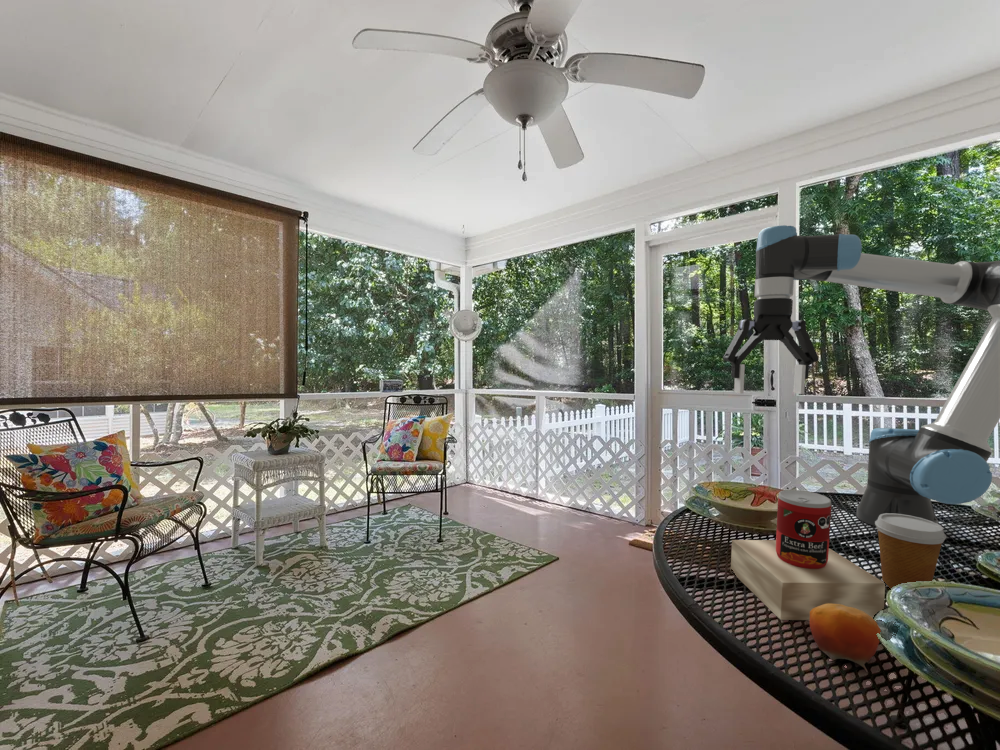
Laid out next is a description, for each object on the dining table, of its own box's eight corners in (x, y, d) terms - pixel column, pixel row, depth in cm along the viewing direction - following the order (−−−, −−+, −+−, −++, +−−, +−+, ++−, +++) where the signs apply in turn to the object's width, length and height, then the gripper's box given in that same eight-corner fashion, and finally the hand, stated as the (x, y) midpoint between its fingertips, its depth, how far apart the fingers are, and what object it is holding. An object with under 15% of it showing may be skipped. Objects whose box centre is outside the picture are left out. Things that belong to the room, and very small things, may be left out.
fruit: (820, 662, 62) (815, 596, 66) (806, 660, 69) (802, 600, 72) (896, 678, 60) (887, 608, 63) (874, 675, 66) (867, 611, 70)
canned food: (776, 563, 80) (779, 499, 80) (774, 546, 88) (777, 486, 87) (831, 574, 77) (835, 507, 76) (824, 555, 84) (828, 493, 83)
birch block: (815, 571, 91) (816, 540, 90) (882, 620, 75) (885, 583, 74) (730, 570, 90) (732, 539, 90) (780, 619, 75) (782, 582, 74)
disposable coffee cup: (922, 607, 78) (927, 536, 78) (859, 581, 87) (863, 516, 86) (953, 595, 82) (959, 527, 81) (890, 571, 91) (894, 509, 90)
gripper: (817, 300, 111) (812, 391, 112) (710, 299, 111) (706, 390, 112) (841, 297, 103) (835, 395, 105) (725, 296, 103) (721, 394, 105)
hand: (768, 393), depth 108 cm, fingers open, 13 cm apart
